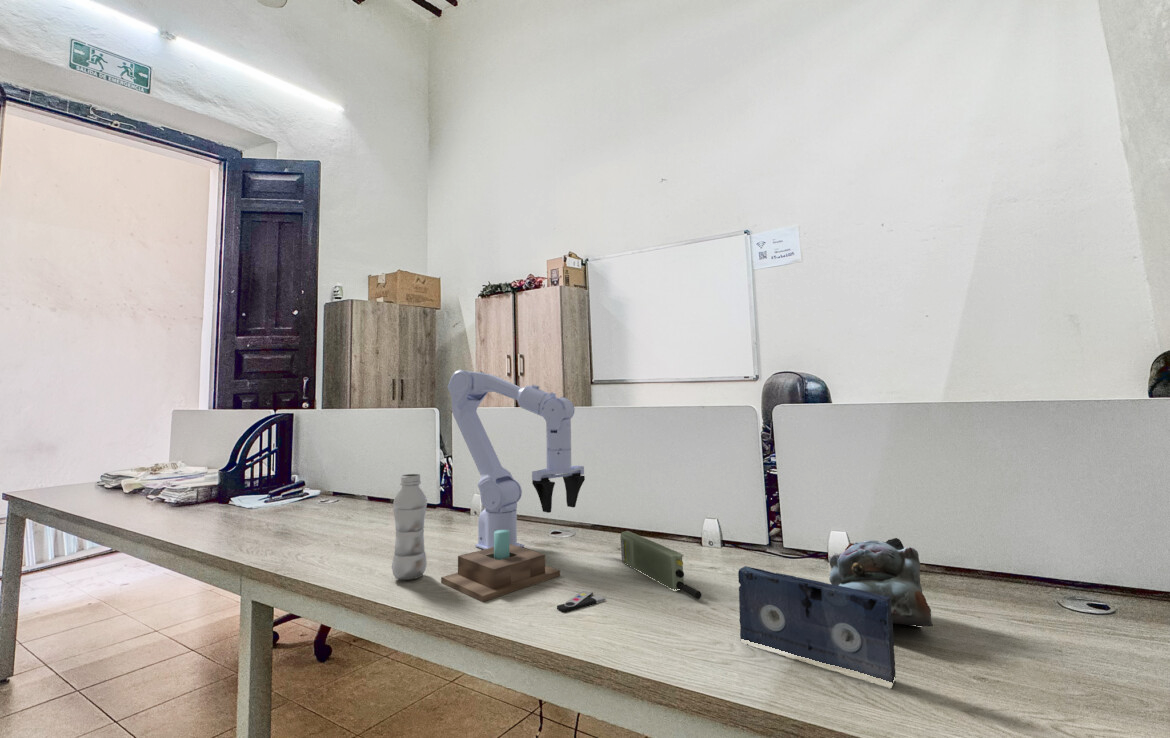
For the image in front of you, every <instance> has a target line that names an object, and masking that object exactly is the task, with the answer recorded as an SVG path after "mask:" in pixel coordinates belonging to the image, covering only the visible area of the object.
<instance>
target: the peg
mask: <svg viewBox="0 0 1170 738" xmlns="http://www.w3.org/2000/svg"><path fill="white" fill-rule="evenodd" d="M509 557H510V531H509V530H497V531H494V559H497V560H502V559H505V558H509Z"/></svg>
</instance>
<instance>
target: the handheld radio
mask: <svg viewBox="0 0 1170 738" xmlns="http://www.w3.org/2000/svg"><path fill="white" fill-rule="evenodd" d="M620 550H621V552H620V553H621V562H622V563H623V562H624V563H626V564H628V565H629V566H631V567H633V568H635V569H637V570H639V571H641V572H642V573H644V574H646V575H648V576H649V577H651V578H653V579H655V580H656V581H659V582H660V583H662V584H664V585H666V586H668V587H669V588H671V589H674V590H675V589H676V590H677V589H680V590H682V591H683V592H684V593H686V594H688V595H690V596H691V597H693V598H695V599H696V600H700V599H701V598H702V592H701V591H700V590H698V589H696V588H693V587H692V586H690V585H688V584H687V583H685V581H684V576H685V572H684V568H683V565H684V562H683V557H684V556H685V555H684V554H682V553H680V552H678V551H677V550H674V549H671V548H669V547H666V546H665V545H662V544H660V543H658V542H655V541H653V540H650V539H648V538H645V537H643V536H641V535H639V534H636V533H633V532H632V531H630V530H625V531H622V532H621V533H620ZM624 563H623V564H624ZM626 564H625V565H626ZM628 565H627V566H628ZM629 566H628V567H629ZM631 567H630V568H631ZM633 568H632V569H633ZM635 569H634V570H635ZM642 573H641V574H642ZM644 574H643V575H644ZM649 577H648V578H649ZM651 578H650V579H651ZM656 581H655V582H656ZM660 583H659V584H660Z"/></svg>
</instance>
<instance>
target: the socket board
mask: <svg viewBox="0 0 1170 738" xmlns="http://www.w3.org/2000/svg"><path fill="white" fill-rule="evenodd" d="M560 576H561V570H560V569H556V568H554V567H550V566H549V565H548V566H547V565H546V554H544V553H541V552H537V551H535V550H531V549H527V548H524V547H518V546H515V545H512V544H510V557H509V558H505V559H502V560H497V559H494V547H492V548H488V549H481V550H476V551H473V552H472V551H471V552H467V553H465V554H461V555H458V556H457V572H456V573H451V574H449V575H448V574H447V575H445V576H444V575H443V576H441V577H440V583H441V584H443V585H445V586H448V587H450V588H452V589H454V590H456V591H458V592H461V593H463V594H465V595H468V596H469V597H471V598H473V599H476V600H477V601H480V602H482V603H483V602H486V601H490V600H492V599H495V598H500V597H502V596H505V595H507V594H510V593H513V592H516V591H518V590H521V589H525V588H529V587H530V586H534V585H536V584H540V583H543V582H546V581H549V580H552V579H555V578H557V577H560Z"/></svg>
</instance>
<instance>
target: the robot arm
mask: <svg viewBox="0 0 1170 738" xmlns="http://www.w3.org/2000/svg"><path fill="white" fill-rule="evenodd" d="M447 390H448V392H449V394H450V398H451V412H452V416H453V418H454V420H455V421H456V424H457V427H458V429H459V430H460V433H461V436H462V437H463V439H464V442H465V445H466V447H467V448H468V452H469V453H470V455H471V458H472V460H473V462H474V464H475V466H476V469H477V471H478V472H479V476H480V479H479V481H478V483H477V487H478V489H479V493H480V494H479V495H480V496H479V497H480V502H481V506H482V507H483V508H484V509H483V510H482V511H481V512H480V513H479V516H478V519H477V520H478V524H477V525H478V529H477V533H478V539H477V540H478V541H477V543H475V544H474V546H475V547H477V548H479V549H481V550H484V549H488V548H492V547H494V531H497V530H509V531H510V544H512V545H515V546H518V547H521V548H524V547H525V544H524V543H520V542H518V539H517V537H518V534H517V532H518V530H517V526H518V523H517V520H518V518H517V517H518V516H517V515H518V513H517V510H518V509H517V508H518V502H519V501H520V499H522V493H523V490H522V486H521V484H520V483H519V481H517V480H516V479H515V478H514V477H513V476H512V474H511V472H510V471H509V470H508V469H506V468H504V466H502V463H501V462H500V459H499V457H498V455H497V453H496V451H495V449H494V447H493V444H492V442H491V440H490V438H489V436H488V434H487V432H486V429H485V428H484V425H483V423H482V421H481V419H480V417H479V415H478V412H477V410H478V408H479V406H480V404H481V403H482V401H483V400H484V399H485V398H486V396H487V395H488V393H492V392H494V393H497V394H500V395H502V396H505V397H507V398H509V399H510V398H511V399H513V400H514V401H515V400H516V402H517V404H518V406H519V408H521V409H524V410H525V411H528V412H531V413H534V414H535V415H538V416H540V417H543V419H544V420H545V422H546V427H545V428H546V431H545V433H546V468H543V469H538V470H533V471H531V480H532V481H531V482H532V486H533V487H534V489H535V491H536V493H537V495H538V499H539V502H540V505H541V509H542V512H544V513H551V512H552V509H553V508H552V505H553V504H552V502H553V491H554V488H555V485H556V482H555V481H551V479H556V478H557V479H558V478H563V482H564V486H565V496H566V497H565V499H566V506H567V507H570V508H575V507H576V504H577V501H578V496H579V492H580V490H581V487H582V485H583V484H584V482H585V478H586V476H585V466H584V465H572V421H571V420H572V419H573V417H574V415H575V406H574V404H573V403H574V402H572V400H570V399H568V398H567V397H565V396H561V397H560V396H559V397H557V394H556V393H555V392H547V391H545V390H542V389H540V386H539V385H537V384H532V385H526V386H524V387H521V386H519V385H516V384H515V383H512V382H510V381H508V380H506V379H503V378H502V377H499V376H496V375H494V374H490V373H486V372H483V371H478V372H477V371H470V370H466V369H465V370H464V369H458V370H456V371H454V372H453V374H452V375H451V377H450V379H449V382H448V385H447Z"/></svg>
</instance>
